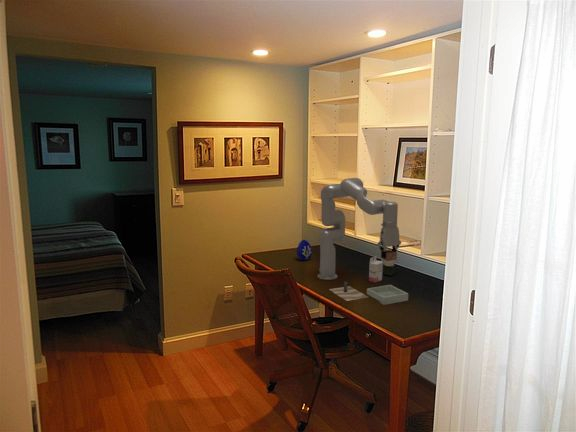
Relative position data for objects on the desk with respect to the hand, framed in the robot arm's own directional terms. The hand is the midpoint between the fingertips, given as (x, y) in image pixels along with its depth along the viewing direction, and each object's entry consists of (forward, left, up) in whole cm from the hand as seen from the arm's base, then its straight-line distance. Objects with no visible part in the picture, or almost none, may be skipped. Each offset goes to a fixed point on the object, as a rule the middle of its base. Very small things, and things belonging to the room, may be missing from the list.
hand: (388, 257), depth 245 cm
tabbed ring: (-1, 0, -1) cm, 2 cm away
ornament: (-88, -8, -24) cm, 92 cm away
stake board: (-13, -17, -23) cm, 32 cm away
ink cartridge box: (-28, +12, -24) cm, 39 cm away
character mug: (-34, +26, -24) cm, 49 cm away
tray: (0, 0, -23) cm, 23 cm away
